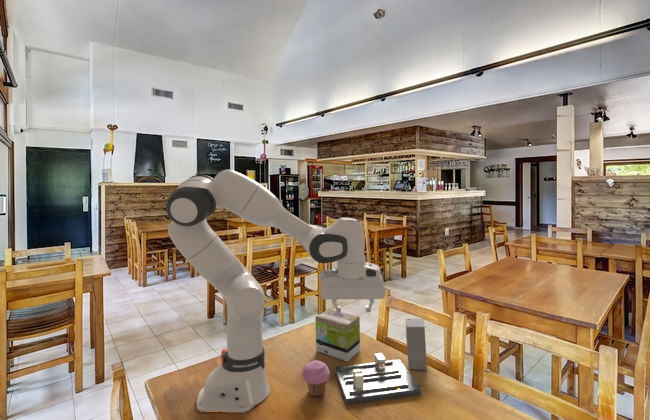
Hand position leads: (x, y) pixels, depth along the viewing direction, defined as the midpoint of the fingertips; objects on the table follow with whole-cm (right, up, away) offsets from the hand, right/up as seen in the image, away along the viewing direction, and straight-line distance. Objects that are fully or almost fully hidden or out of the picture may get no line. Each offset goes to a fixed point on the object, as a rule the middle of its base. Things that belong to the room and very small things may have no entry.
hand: (353, 311), depth 108 cm
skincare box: (+24, -24, +17) cm, 38 cm away
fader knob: (+2, -24, +1) cm, 24 cm away
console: (+8, -26, +6) cm, 27 cm away
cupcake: (-12, -27, +2) cm, 29 cm away
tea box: (-4, -24, +28) cm, 37 cm away
